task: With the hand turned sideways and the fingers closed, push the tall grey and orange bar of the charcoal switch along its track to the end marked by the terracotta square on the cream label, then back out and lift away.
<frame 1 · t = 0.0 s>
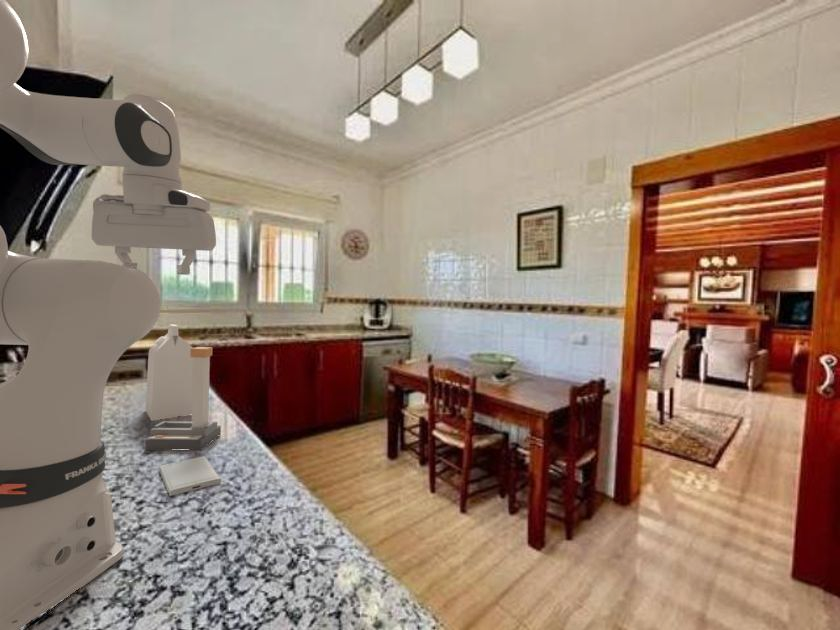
hand: (157, 273, 71), 39 cm above the countertop, tool pointing down, fingers open, 8 cm apart
grey and orange bar: (200, 389, 91), point 13 cm above the countertop, slide at 0.0 cm
milk: (171, 413, 114), on the countertop
switch base: (185, 442, 91), on the countertop
hard drive: (189, 480, 74), on the countertop
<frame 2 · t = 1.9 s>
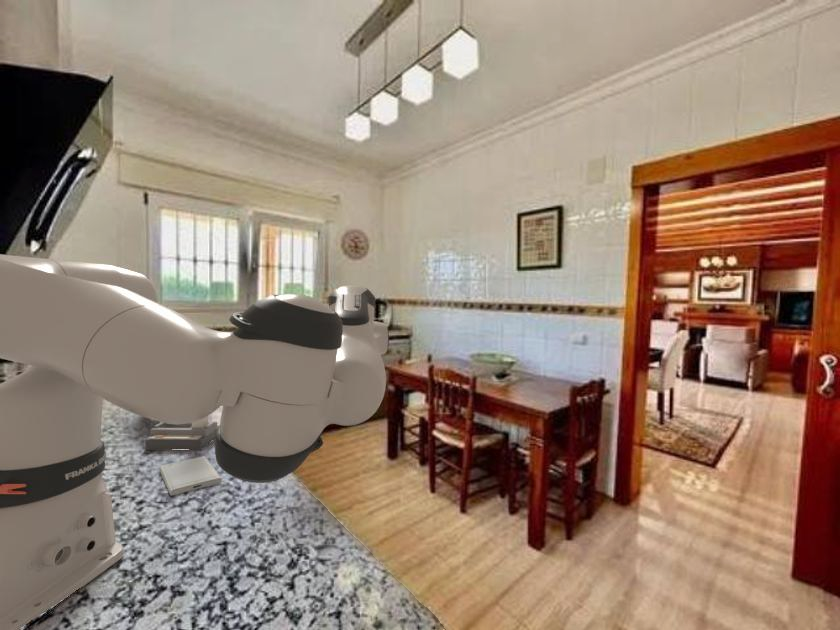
hand: (262, 335, 92), 26 cm above the countertop, tool horizontal, fingers open, 7 cm apart
nothing on the countertop moved.
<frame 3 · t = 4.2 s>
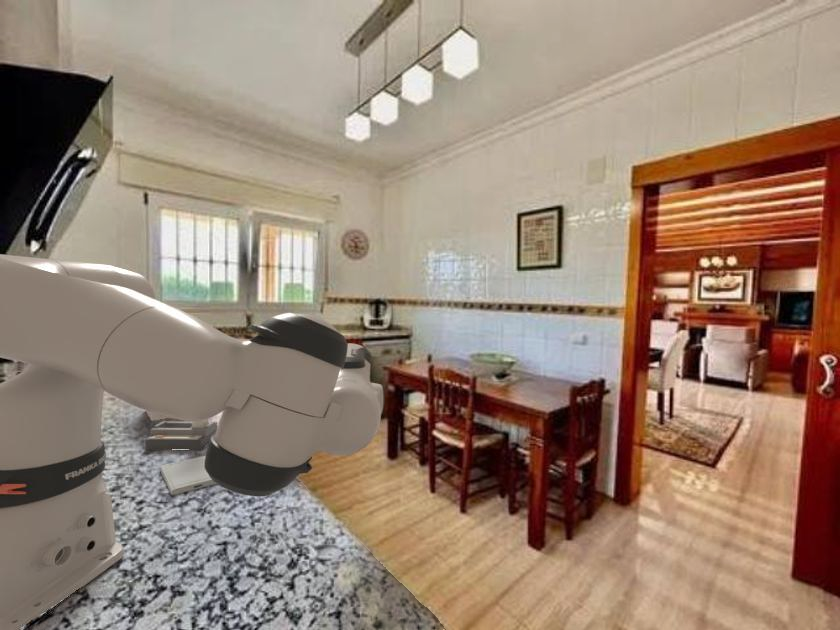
hand: (258, 397, 92), 11 cm above the countertop, tool horizontal, fingers closed
nothing on the countertop moved.
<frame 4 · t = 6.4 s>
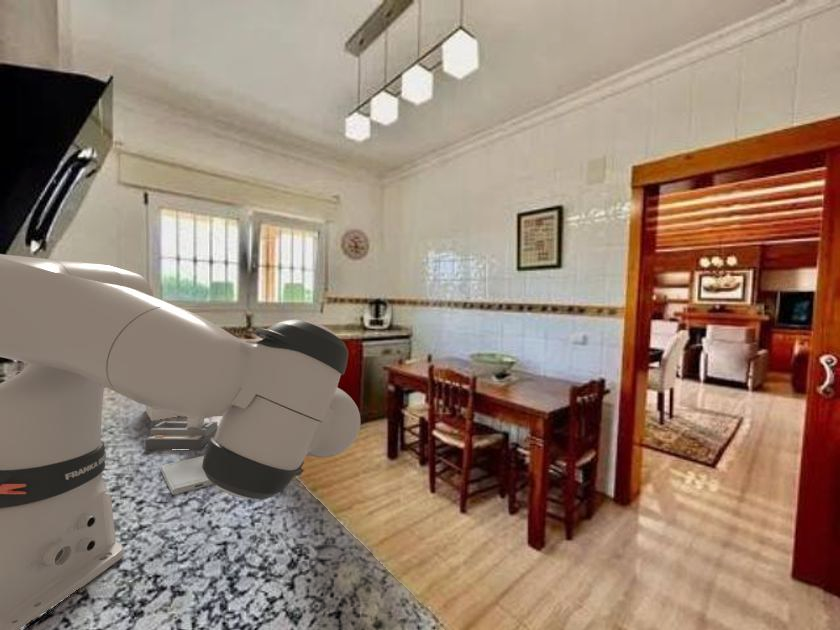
hand: (202, 396, 91), 11 cm above the countertop, tool horizontal, fingers closed, pressing on grey and orange bar
grey and orange bar: (196, 389, 91), point 13 cm above the countertop, slide at 1.0 cm, touching gripper
everything else where it was.
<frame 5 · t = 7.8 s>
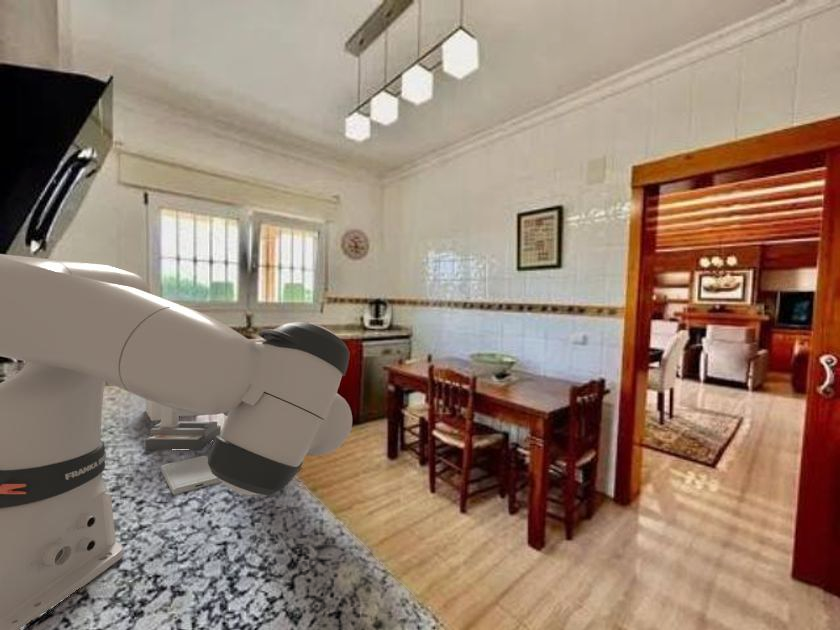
hand: (175, 396, 91), 11 cm above the countertop, tool horizontal, fingers closed, pressing on grey and orange bar
grey and orange bar: (170, 389, 90), point 13 cm above the countertop, slide at 6.9 cm, touching gripper
everything else where it was.
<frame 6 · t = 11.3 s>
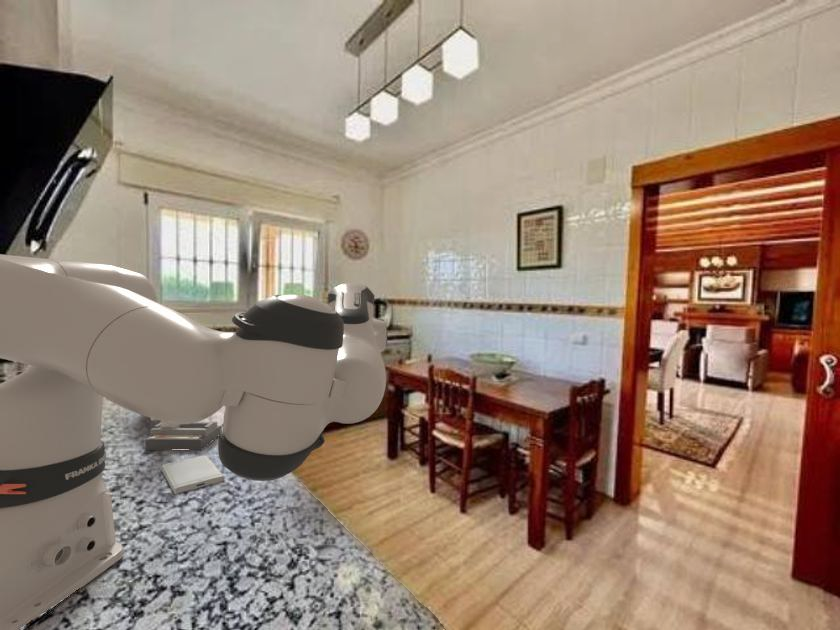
hand: (261, 331, 92), 27 cm above the countertop, tool horizontal, fingers closed
grey and orange bar: (170, 389, 91), point 13 cm above the countertop, slide at 6.9 cm
everything else where it was.
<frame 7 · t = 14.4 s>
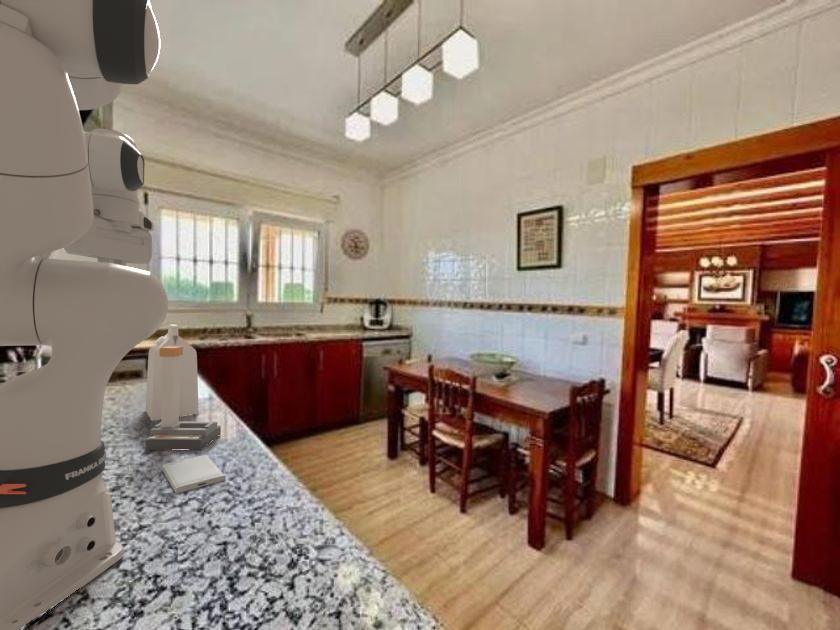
hand: (112, 282, 79), 37 cm above the countertop, tool pointing down, fingers closed
nothing on the countertop moved.
at the end: grey and orange bar slide at 6.9 cm; hard drive moved 1.2 cm from its start; milk moved 0.3 cm from its start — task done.
